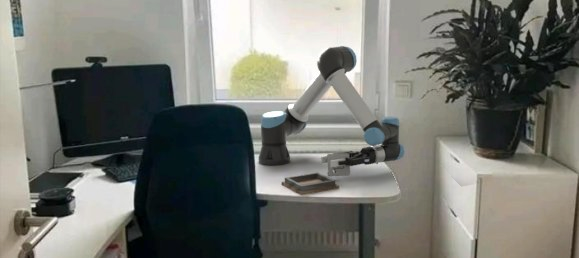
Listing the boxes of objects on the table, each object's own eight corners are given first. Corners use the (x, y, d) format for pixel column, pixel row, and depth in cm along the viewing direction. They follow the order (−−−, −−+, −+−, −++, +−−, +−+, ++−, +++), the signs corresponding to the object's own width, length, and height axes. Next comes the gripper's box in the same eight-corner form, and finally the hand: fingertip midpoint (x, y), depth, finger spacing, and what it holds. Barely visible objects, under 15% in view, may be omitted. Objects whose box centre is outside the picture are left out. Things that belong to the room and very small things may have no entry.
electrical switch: (327, 177, 231) (327, 154, 230) (326, 174, 236) (326, 153, 235) (350, 176, 231) (350, 154, 230) (348, 174, 237) (348, 152, 236)
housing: (281, 184, 228) (281, 177, 228) (317, 178, 236) (317, 171, 235) (301, 195, 213) (301, 187, 213) (339, 188, 221) (339, 180, 221)
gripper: (385, 168, 234) (338, 176, 223) (358, 158, 251) (314, 165, 241) (385, 151, 232) (338, 158, 222) (358, 142, 249) (314, 148, 239)
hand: (326, 161), depth 231 cm, fingers closed on electrical switch, 7 cm apart
